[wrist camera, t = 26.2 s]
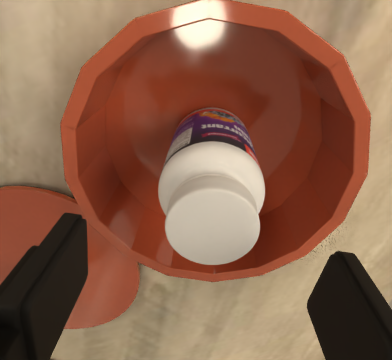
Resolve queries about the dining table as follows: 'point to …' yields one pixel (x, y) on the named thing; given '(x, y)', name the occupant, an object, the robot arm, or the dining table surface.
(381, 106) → the dining table surface
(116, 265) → the lid
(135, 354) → the dining table surface
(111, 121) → the pot
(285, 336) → the dining table surface
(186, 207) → the pill bottle
